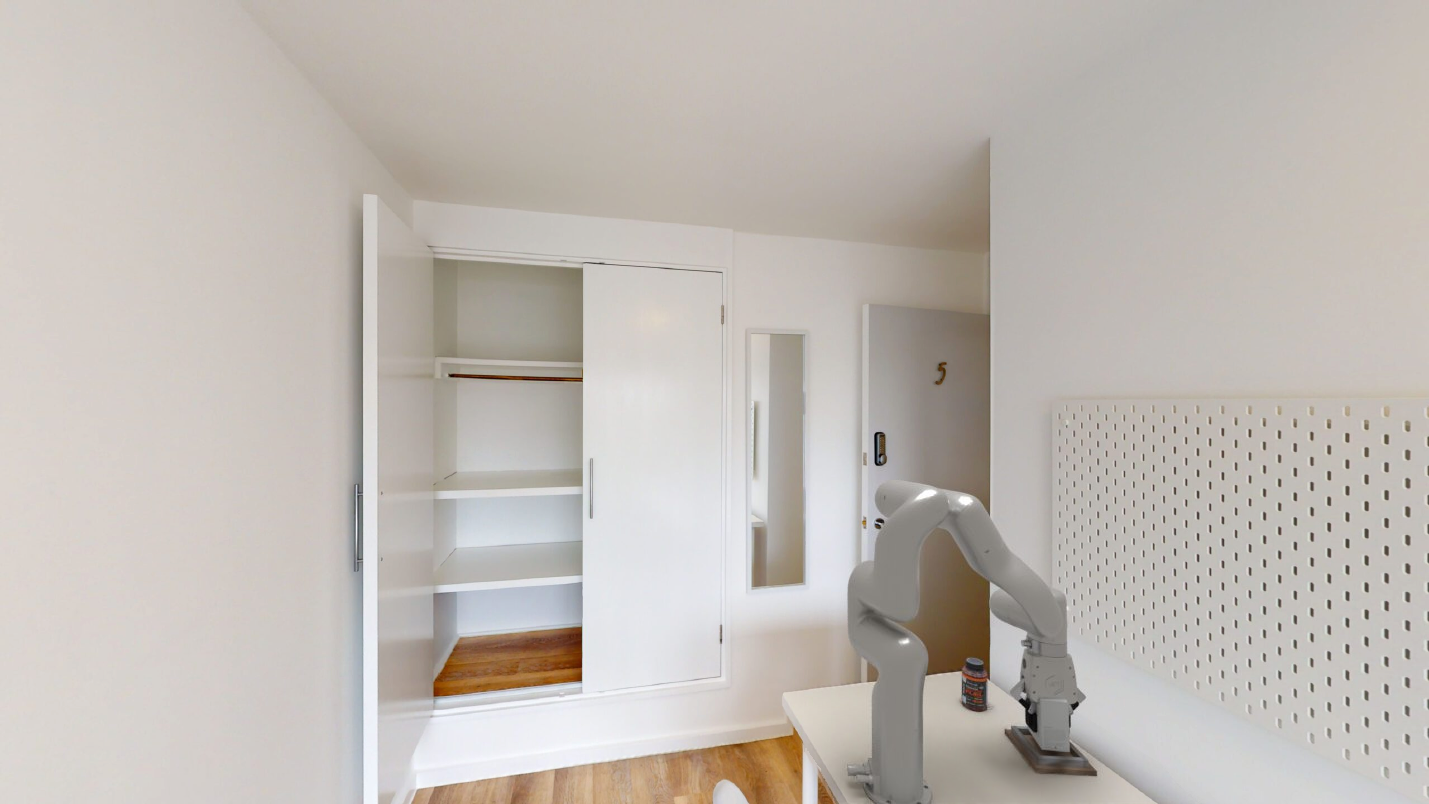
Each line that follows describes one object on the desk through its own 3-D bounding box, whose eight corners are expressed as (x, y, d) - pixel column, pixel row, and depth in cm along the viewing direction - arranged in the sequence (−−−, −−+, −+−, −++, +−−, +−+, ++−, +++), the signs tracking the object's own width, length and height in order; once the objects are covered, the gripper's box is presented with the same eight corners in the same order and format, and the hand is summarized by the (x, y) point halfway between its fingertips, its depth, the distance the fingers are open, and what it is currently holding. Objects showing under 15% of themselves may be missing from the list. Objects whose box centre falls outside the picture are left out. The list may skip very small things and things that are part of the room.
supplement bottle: (963, 710, 137) (963, 664, 137) (960, 698, 142) (959, 654, 143) (989, 713, 135) (989, 667, 135) (985, 701, 140) (985, 657, 141)
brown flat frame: (1035, 772, 112) (1035, 761, 113) (1004, 733, 126) (1004, 723, 126) (1096, 775, 112) (1096, 763, 112) (1058, 735, 126) (1058, 725, 126)
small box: (1070, 753, 115) (1069, 702, 115) (1040, 750, 116) (1040, 700, 116) (1054, 731, 123) (1053, 684, 123) (1027, 729, 124) (1026, 681, 124)
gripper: (1014, 652, 116) (1015, 738, 116) (1098, 654, 115) (1100, 741, 115) (998, 638, 124) (999, 718, 124) (1077, 640, 123) (1079, 721, 122)
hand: (1047, 728), depth 119 cm, fingers closed on small box, 6 cm apart
